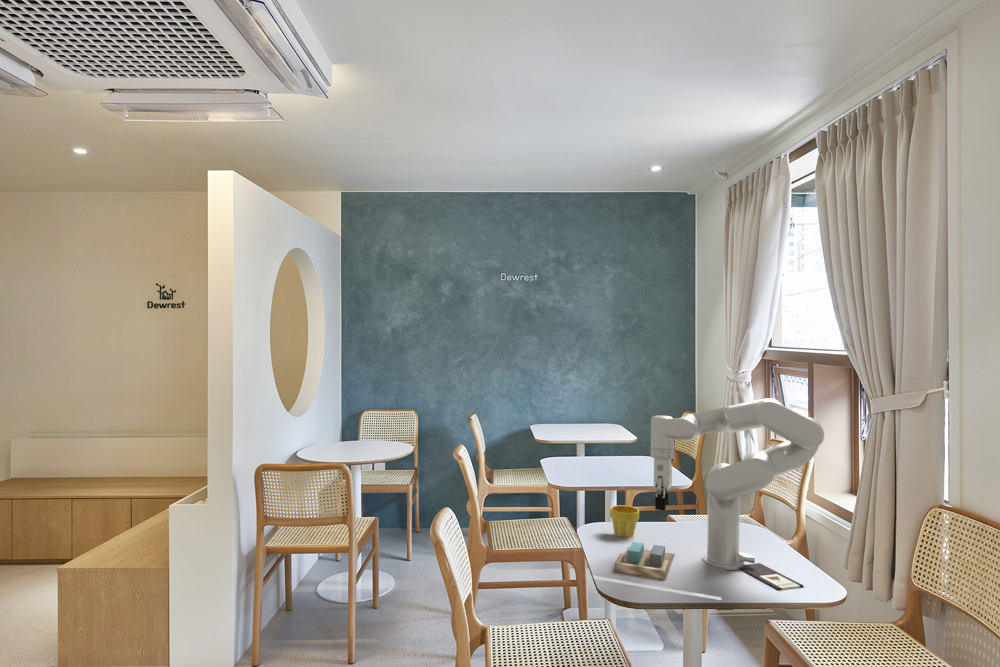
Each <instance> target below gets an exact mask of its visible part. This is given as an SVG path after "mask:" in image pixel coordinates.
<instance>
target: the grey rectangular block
mask: <svg viewBox="0 0 1000 667" xmlns="http://www.w3.org/2000/svg"><path fill="white" fill-rule="evenodd" d="M665 553H666V546H665V545H659V544H653V546H652V548H651V552H650V565H654V566H660V567H661V566H662V564H663V561H664V559H665Z"/></svg>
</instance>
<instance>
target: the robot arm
mask: <svg viewBox="0 0 1000 667" xmlns="http://www.w3.org/2000/svg"><path fill="white" fill-rule="evenodd" d="M762 428H765V429H766V430H769V431H770V432H772V433H774V434H775V435H777V436H779V437H781V438H783V439H784V441H783V442H781V443H779V444H775V445H774V446H771V447H767V448H765V449H761V450H759V451H756V452H752V453H749V454H747V455H746V456H745V457H744V458H743V459H742V460H741V461H738V462H735V463H733V464H729V463H727V462H719V463H716V464H714V465H712V467H710V469H709V471H708V474H707V475H706V478H705V488H706V491H707V531H706V532H707V535H706V536H707V540H706V541H707V544H706V545H707V546H706V548H707V552H706V553H705V554H703V555H702V557H701V559H702V561H703V562H704V563H706V564H707V565H709V566H713V567H717V568H722V569H724V570H726V571H737V570H740V569H741V568H742V567H744V565H745V562H747V563H749V564H756V563H755V561H756V560H755V556H752V555H751V554H750V553H743V552H742V551H741V548H740V513H741V512H740V508H741V507H740V506H741V505H740V503H741V500H740V498H741V497H743V496H745V495H749V494H751V493H755V492H758V491H761V490H763V489H765V488H767V487H768V486H769V485H770V484H771V483H772V482H773V481H774V478H776V477H778V476H781V475H783V474H785V473H789V472H791V471H794V470H797V469H799V468H801V467H802V466H805V465H806V464H807V463H809V462H810V461H811V460H812V459H813V457H814V456H815V455H816V454H817V452H818V450H819V447H820V446H821V444H822V443H823V442H824V441H825V440H824V439H825V432H824V429H823V427H822V425H821V424H820V422H818V420H816V419H815V418H813V417H810V416H804V415H802V414H800V413H798V412H796V411H794V410H792V409H790V408H788V407H787V406H785V405H783V403H781V401H780V400H778V399H776V398H772V397H771V398H770V397H766V398H762V399H761V398H760V399H756V400H751V401H746V402H742V403H738V404H731V405H727V406H726V405H725V406H722V407H718V408H713V409H709V410H708V409H707V410H704V411H698V412H694V413H693V412H692V413H687V414H685V415H682V416H681V417H675V418H673V416H670V415H659V414H658V415H653V416H652V417H651V420H650V457H651V459H652V458H653V487H654V489H655V499H654V502H655V504H654V505H655V506H654V507H655V508H654V509H655V510H657V511H666V510H667V509H666V507H667V505H669V490H671V487H672V485H673V473H672V472H673V470H672V469H673V468H672V467H673V466H672V464H673V463H672V460H673V459H675V440H678V441H684V442H687V441H691V440H693V439H694V438H696V437H697V436H701V435H706V434H712V433H719V432H720V433H730V434H731V433H732V434H733V433H740V432H743V431H744V432H745V431H749V430H754V429H762Z"/></svg>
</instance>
